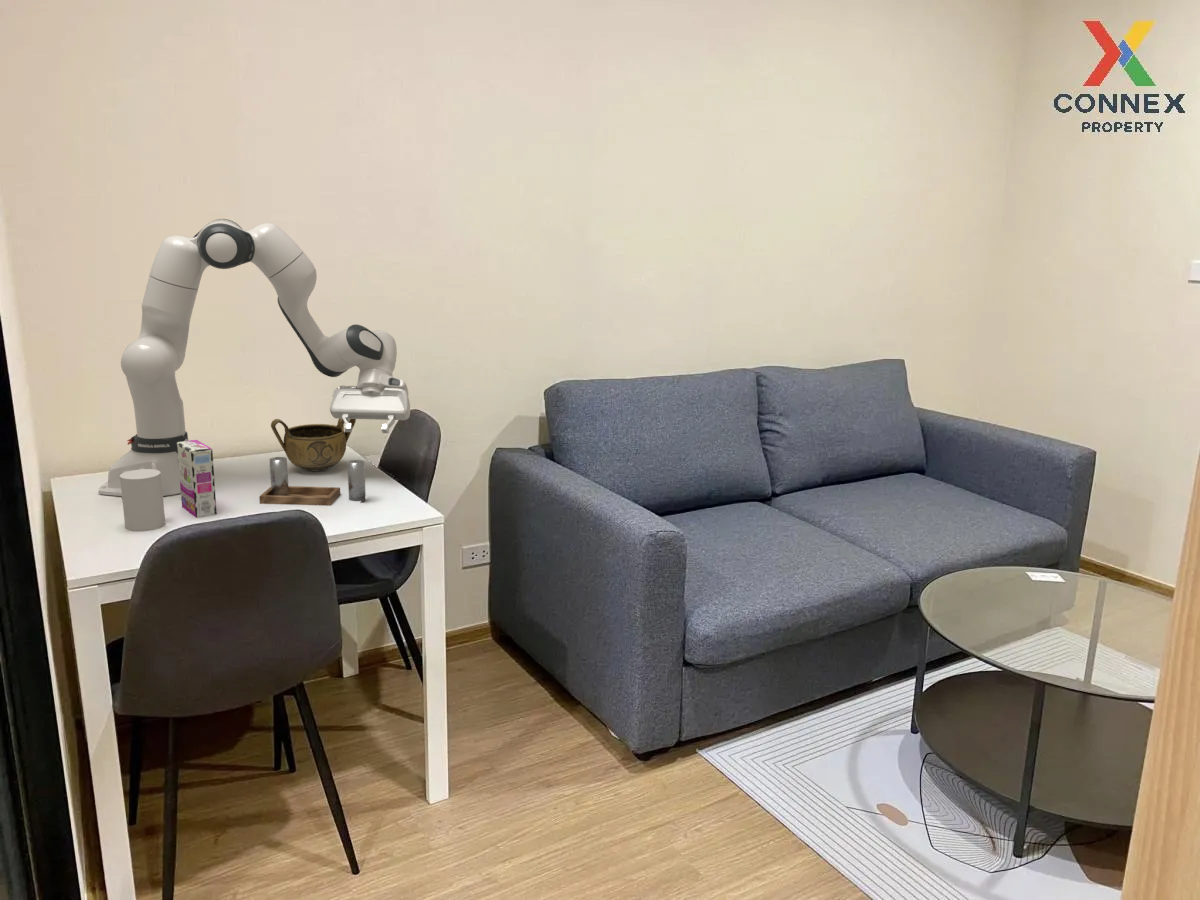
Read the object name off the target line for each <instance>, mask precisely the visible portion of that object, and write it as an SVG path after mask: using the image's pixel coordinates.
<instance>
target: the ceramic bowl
mask: <svg viewBox="0 0 1200 900" xmlns="http://www.w3.org/2000/svg"><path fill="white" fill-rule="evenodd" d="M356 421H357V419H350V421H349V422H348V423H350V424H352V427H353V428H352V430H353V429H354V427H355V424H356ZM279 423H280V424H281V425H282V426H283V427H284V435H283V436H284V437H283V439H282V437H281V435H280V433H279V432H278V430H277V425H278V424H279ZM344 424H345V423H344V420H343V419H339V418H338V420H337V425H335V424H325V423H312V424H309V423H308V424H299V425H295V426H292V427H288V425H287V424H286V422H284V421H283V420H281V419H280V418H275V419H273V420H272V421H271V423H270V427H271V431H273V434H274V435H275V438H276V439H277V441H278V442H279V444H280V447H281V448H282V450H283V451H284V453H285V455H286V458H287V460H289V461H290V463H292V465H294V466H296V468H299V469H301V470H304V471H308V472H322V471H325V470H328V469H331V468H332V467H334V466H335V465H337V464H339V462H340V461H341V460H342V459H343V457H344V456H345V453H346V450H347V442H348V441H349V438H350V437H351V436H350V435H351V433H352V432H345V425H344Z"/></svg>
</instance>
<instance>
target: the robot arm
mask: <svg viewBox="0 0 1200 900" xmlns="http://www.w3.org/2000/svg"><path fill="white" fill-rule="evenodd" d="M247 263H252V264H253V265H255V266H256V267H257V268H258V269H259V270H260V271H261V272H262V273H263V275H264V276H265V277H266V278H267V280H268V281H269V282H270V283H271V285H272V286H273V288H274V290H275V292H276V295H277V304H278V307H279V308H280V311H281V313H282V314H283V316H284V317H285V319H286V321H287V322H288V323H289V325H290V327H291V328H292V329H293V331H294V332H295V334H296V336H297V338H298V339H299V340H300V342H301V343H302V345H303V346H304V348H305V349H306V352H307V353H308V355H309V356H310V358H311V362H312V364H313V366H314V367H315V369H317V371H318V372H320V374H323V375H324V376H326V377H330V378H338V377H339V376H342V375H343V374H344V373H347V371H349V370H350V369H352V368H354V367H357V368H358V369H359V373H358V379H357V384H356V385H347V386H346V385H339V387H336V388H335V389H334V390H333V392H332V393H333V394H332V400H331V402H330V406H329V412H330V414H331V416H332V417H333V418H334V419H338V420H339V419H343V420H344V424H345V425H344V432H351V433H352V432H353V429H354V427H352V424H350V423H349V421H350V419H356V420H375V421H376V420H380V421H381V420H382V421H384V420H385V421H386V420H387V422H386V423H383V424H381V425H382V427H381V433H382V434H389V432H390V428H392V426H394V424H395V422H396V421H407V420H408V419H409V418H410V415H411V403H410V400H409V399H410V398H409V389H408V386H407V384H406V382H405V380H404V379H402V378H401V379H400V378H397V377H394V375H393V372H394V371H395V368H396V364H397V363H396V362H397V356H398V355H397V350H398V349H397V343H396V339H395V338H394V337H393V336H392V334H390V333H389V332H387V331H385V330H370V329H369V328H367V327H365V326H363V325H362V324H361V325H360V324H351V325H350V326H347V327H346V328H343V329H342V330H341V329H340V330H339V331H338V332H337V333H335V334H333V335H331V336H326V335H325V334H324V333H323V331H322V330H321V329H320V327H319V325H318V324H317V322H316V321H315V319H314V318H313V316H312V315H311V313H310V311H309V309H308V300H309V297H310V296H311V295H312V293H313V291H314V289H315V287H316V283H317V269H316V267H315V265H314V263H313V261H312V260H311V259H310V258H309V257H308V256H307V254H306V253H305V252H304V250H303V249H302V248H301V247H300V246H299V244H297V243H296V241H295V240H293V238H291V236H290V235H288V234H287V233H286V231H284V230H283V229H281V227H279V226H278V225H277V224H276V223H272V222H264V223H260V224H258V225H256V226H255V227H253V228H252V229H249V230H247V229H246V230H245V229H243V228H242V226H240V225H239V224H238V223H237V222H234V221H233V220H230V219H226V218H218V219H214V220H211V221H210V222H208V223H207V224H206V225H204V226H203V227H202V228H201V229H200V230H199V231H198V232H197V233H196V234H194V235H193V237H188V236H183V235H170V236H168V237H165V238H164V239H163V240H162V242H161V244H160V245H159V247H158V250H157V252H156V254H155V257H154V260H153V262H152V266H151V268H150V272H149V275H148V279H147V284H146V287H145V291H144V295H143V299H142V303H141V324H140V325H141V326H140V331H139V335H138V338H137V339H136V340H133V341H132V342H130V343H129V344H128V345H127V346H126V347H125V349H124V351H123V353H122V356H121V359H120V367H121V370H122V372H123V374H124V375H125V377H126V378H125V379H126V381H127V387H128V389H129V392H130V396H131V399H132V403H133V410H134V418H135V428H136V433H135V435H134V436H131V437H130V438H129V439H127V440H126V442H127V445H128V446H129V445H131V447H130V450H128V452H126V453H125V454H124V455H123V456H122V457H120V458H119V459H118V460H116V461H115V462H114V463H112V464H111V466H110V468H109V469H108V475H107V482H105V483H103V484H102V485H100V487H99V488H98V494H99V495H105V496H117V497H122V492H121V483H120V475H121V474H122V473H124V472H128V471H132V470H139V469H154V470H158V471H160V472H161V483H162V493H163V497H164V496H172V495H178V494H181V488H180V475H179V463H178V449H177V442H183V441H189V435H188V432H187V431H186V422H185V411H184V402H183V399H182V398H181V395H180V391H179V388H178V384H177V379H176V372H177V371H178V370H180V368H181V367H182V365H183V363H184V361H185V357H186V351H187V345H188V339H189V332H190V323H191V318H192V315H193V309H194V307H195V302H196V299H197V294H198V292H199V287H200V283H201V279H202V276H203V274H204V271H205V270H206V269H207V268H208V267H209V266H211V267H213V268H216V269H219V270H228V269H233V268H237V267H238V266H241V265H244V264H247ZM352 428H353V429H352Z"/></svg>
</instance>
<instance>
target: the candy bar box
mask: <svg viewBox="0 0 1200 900" xmlns="http://www.w3.org/2000/svg"><path fill="white" fill-rule="evenodd" d="M177 449H178V463H179V475H180V488H181V493H180V497H181V508H182V509H184V510H186V511H187V512H188V513H189V514H191V515H192V516H193V517H195V519H199V518H204V517H210V516H216V515H217V514H218V512H217V500H216V487H215V470H214V469H215V468H214V455H213V454H214V453H213V448H211V447H210V446H208V445H206V444H205V443H203V442H202V441H200V440H198V439H193V440H188V441H183V442H177Z"/></svg>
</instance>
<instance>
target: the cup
mask: <svg viewBox="0 0 1200 900" xmlns="http://www.w3.org/2000/svg"><path fill="white" fill-rule="evenodd" d="M120 483H121V492H122V496H121V499H122V508H123V509H122V510H123V518H124V528H125V530H127V531H130V532H147V531H153V530H154V531H155V530H157V529H160V528H163V527H164V526H165V525H166V517H165V506H164V505H165V504H164V496H163V493H162V483H161V472H160V471H158V470H154V469H139V470H132V471H128V472H124V473H122V474H121V475H120Z"/></svg>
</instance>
